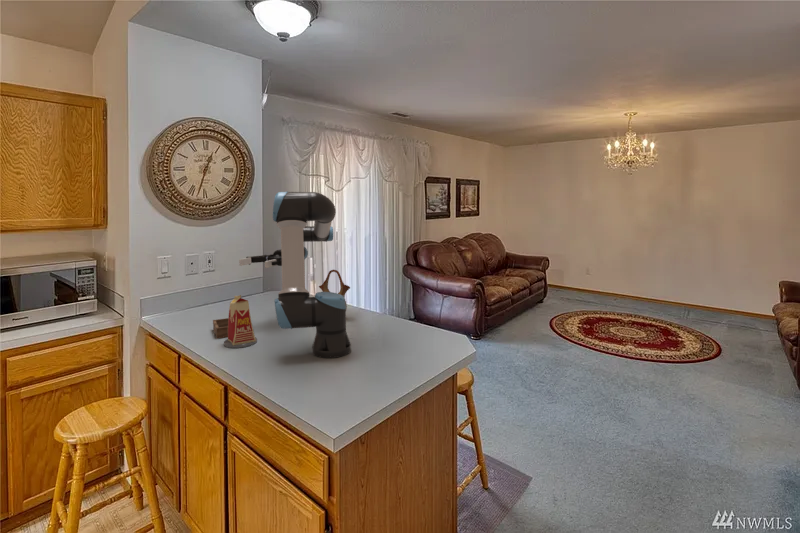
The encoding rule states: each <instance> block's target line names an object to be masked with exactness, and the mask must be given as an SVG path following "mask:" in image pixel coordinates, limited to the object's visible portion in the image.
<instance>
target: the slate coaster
mask: <svg viewBox="0 0 800 533" xmlns="http://www.w3.org/2000/svg"><path fill="white" fill-rule="evenodd" d="M255 339H256V341H255V342H250V343H244V344H239V345H232V343H231V342H230V341H228V338H227V339H226V340H224V341H223V346H224V347H225V348H227V349H243V348H248V346H249V347H252V346H254V345H255V344H257V343H258V338H257V337H256V336H255ZM251 345H252V346H251Z"/></svg>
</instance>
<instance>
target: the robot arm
mask: <svg viewBox="0 0 800 533" xmlns="http://www.w3.org/2000/svg"><path fill="white" fill-rule="evenodd" d="M336 213H337V211H336V206H335V203H334V202H333V201H332V200H331V199H330V198H329V197H327V196H326V195H324V194H322V193H320V192H316V191H278V192H277V193H276V194H275V196H274V199H273V207H272V221H273V222H275V223H276V226H277V227H278V228H279V229H280V236H281V237H280V239H281V240H280V245H281V248H280V249H277V250H275V251H274V252H273V253H270V254H264V255H256V256H255V255H253V256H246V257H245V258H239V266H241V267H242V266H247V265H249V266H250V265H251V264H252V263H253V264H257V263H264V267H265V269H268V268H272V267H275V266H278V267H281V282H282V283H281V290H280V291H279V292H278V295H277V296H278V297H276V298H274V308H275V309H274V310H275V315H276V321H277V325H278V326H279V328H280V329H283V330H284V329H285V330H286V329H287V330H288V329H291V330H292V329H304V328H315V330H316V331H315V337H314V340H313V343H312V347H311V349H312V354H313V355H314V356H316V357H319V358H324V359H325V358H326V359H327V358H328V359H329V358H331V359H332V358H339V357H344V356H346V355H348V354H349V353H350V352H351V351H352V345H351V344H352V343H351V341H350V339H349V335H348V334H347V333H348V332H347V315H346V314H347V309H346V304H347V301H346V298H344V296H342V295H340V294H338V292H331V291H330V292H323V291H318V292H316V293H315V295H314V296H310V291H308V290H307V289H306V274H305V273H306V272H305V260H306V259H307V258H308V254H309V251H308V250H307V248H306V247H305V244H304V243H305V242H306V243H307V242H311V243H313V242H317V243H318V242H325V243H326V242H331V241H333V240H334V228H333V226H332V223H333V222H332V221H333V220H334V219H335V217H336ZM308 222H314V223H313V224H314V225H313V226H309V225H308ZM345 301H346V302H345Z"/></svg>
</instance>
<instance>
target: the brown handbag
mask: <svg viewBox="0 0 800 533" xmlns="http://www.w3.org/2000/svg"><path fill="white" fill-rule="evenodd" d="M332 273H335V274H337V277H338V279H339V284H340V290H339V292H337V294H340V295H342V296H344V298H345V297H346V293H347V292H348V291H349V289H351V286H349V285H348V284H345V283H344V281H343V279H342V276H341V273H340V272H339V271H338V270H336V269H330V270H329V271H328V273H327V276H326V278H325V279H324V281H323V283H322V284H320V285H319V286H318V288H319V290H321V292H331V291H330V290H329V280H330V277H331V274H332ZM345 299H346V298H345ZM345 302H346V310H347V309H348V305H347V301H346V300H345Z"/></svg>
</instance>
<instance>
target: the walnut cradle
mask: <svg viewBox="0 0 800 533" xmlns="http://www.w3.org/2000/svg"><path fill="white" fill-rule="evenodd" d="M228 318H229V317H227V318H219V319H212V328H213V331H214V334H215V337H216V339H223V338H228Z"/></svg>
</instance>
